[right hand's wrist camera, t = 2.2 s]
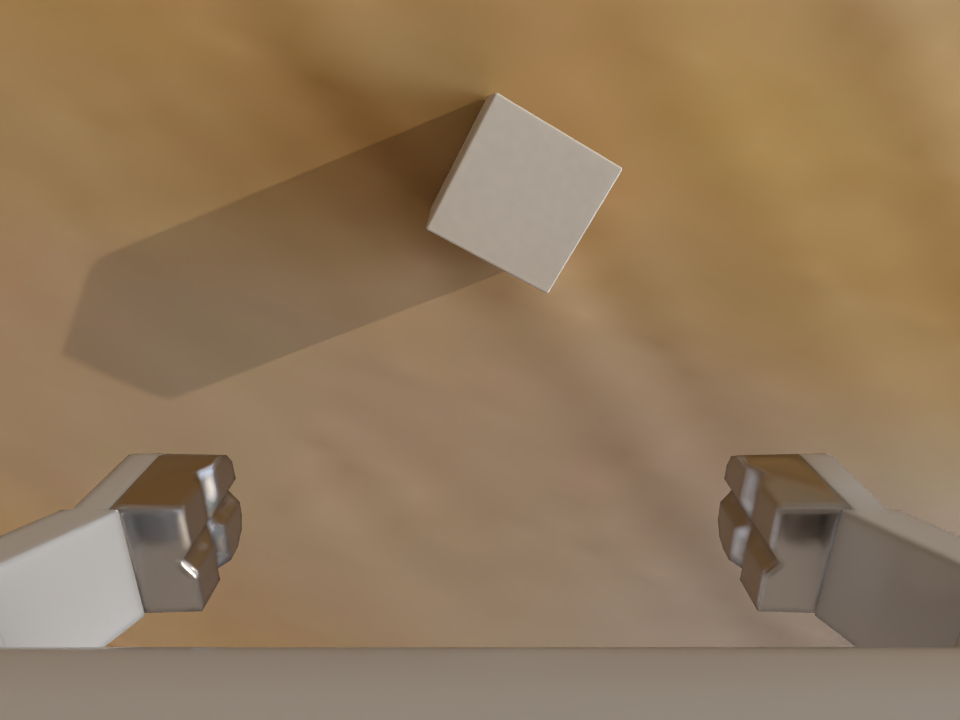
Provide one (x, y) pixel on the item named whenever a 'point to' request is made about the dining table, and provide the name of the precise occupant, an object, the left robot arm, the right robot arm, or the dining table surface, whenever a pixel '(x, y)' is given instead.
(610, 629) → the dining table surface
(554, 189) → the block
